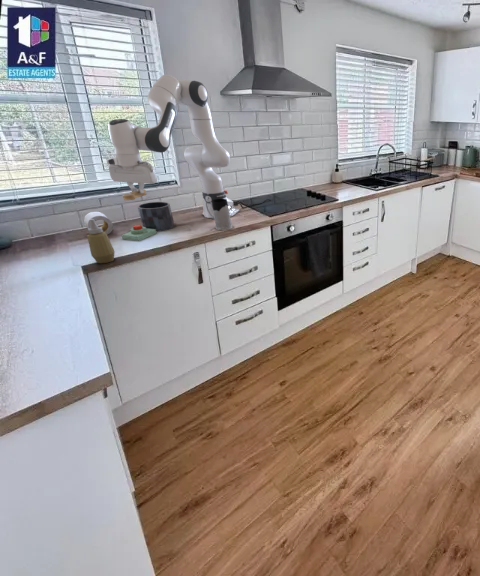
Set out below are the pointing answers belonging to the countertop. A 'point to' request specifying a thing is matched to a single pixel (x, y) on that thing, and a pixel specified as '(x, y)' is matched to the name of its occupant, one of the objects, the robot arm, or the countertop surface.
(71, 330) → the countertop surface
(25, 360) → the countertop surface
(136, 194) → the bone dog treat
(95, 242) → the squeeze bottle
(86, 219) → the toilet paper
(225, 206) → the grey and black mug
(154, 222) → the dark grey round container
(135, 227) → the button
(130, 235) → the base
